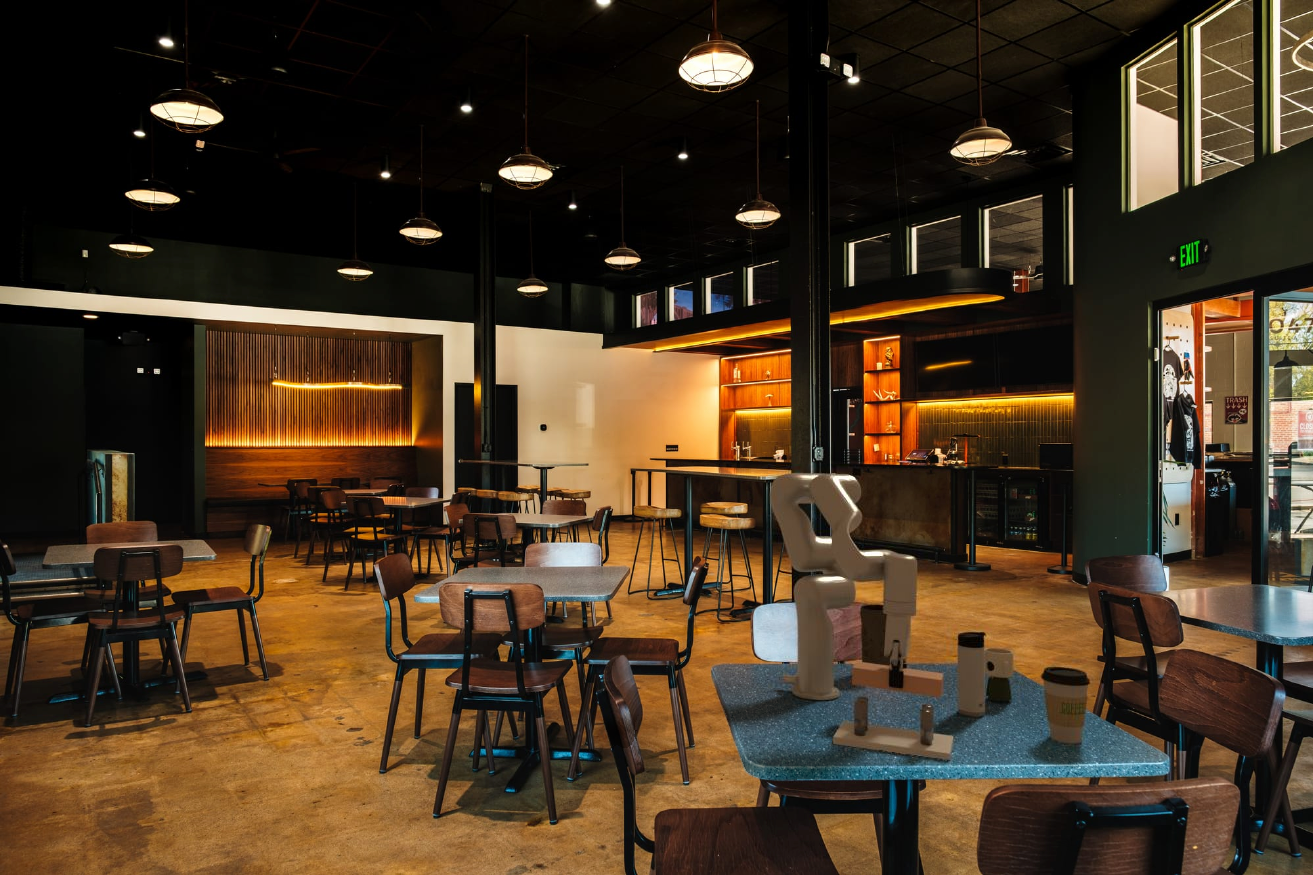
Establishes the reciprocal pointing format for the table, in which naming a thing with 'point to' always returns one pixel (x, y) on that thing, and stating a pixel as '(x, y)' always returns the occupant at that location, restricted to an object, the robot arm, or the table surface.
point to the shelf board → (912, 679)
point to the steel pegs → (925, 720)
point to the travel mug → (971, 674)
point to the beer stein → (873, 634)
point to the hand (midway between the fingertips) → (897, 682)
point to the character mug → (998, 673)
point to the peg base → (894, 741)
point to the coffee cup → (1065, 702)
